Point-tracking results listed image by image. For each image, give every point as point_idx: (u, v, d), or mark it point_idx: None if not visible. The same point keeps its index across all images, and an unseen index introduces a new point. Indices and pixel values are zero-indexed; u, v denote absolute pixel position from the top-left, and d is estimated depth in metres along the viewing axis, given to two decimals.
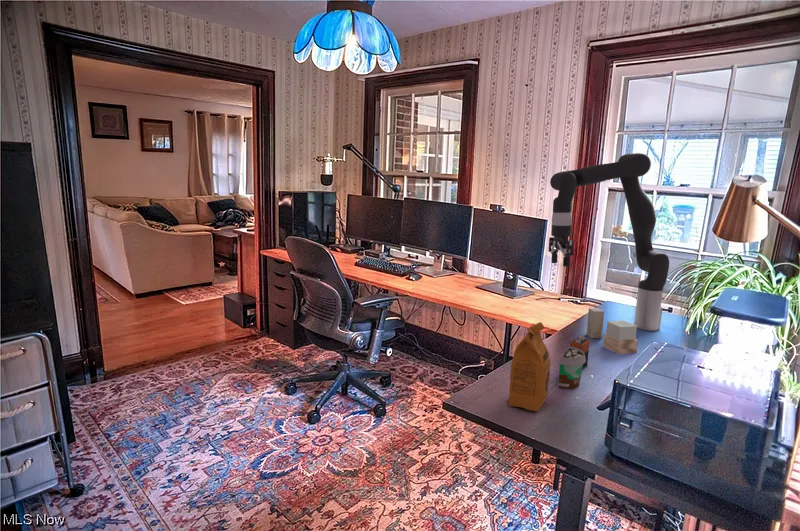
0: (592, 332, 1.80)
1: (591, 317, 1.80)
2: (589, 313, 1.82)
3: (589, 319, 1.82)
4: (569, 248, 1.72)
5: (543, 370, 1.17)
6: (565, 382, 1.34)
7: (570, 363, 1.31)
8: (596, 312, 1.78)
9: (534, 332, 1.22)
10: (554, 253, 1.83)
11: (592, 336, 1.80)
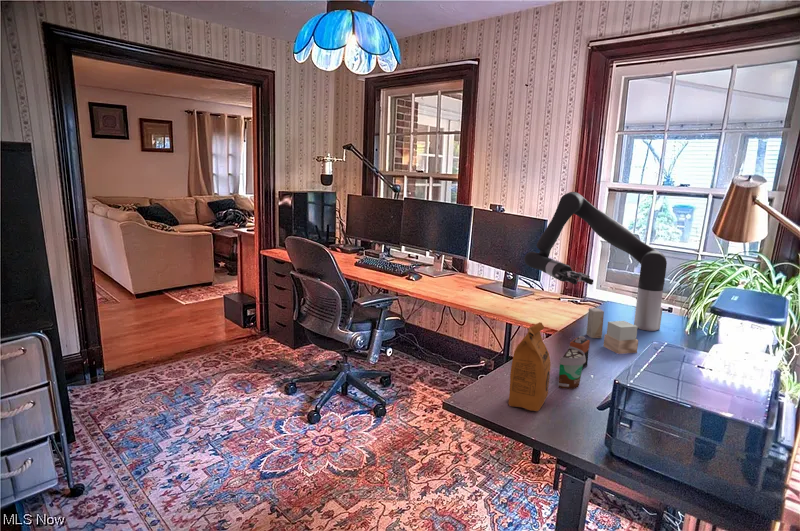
0: (592, 332, 1.80)
1: (591, 317, 1.80)
2: (589, 313, 1.82)
3: (589, 319, 1.82)
4: (559, 277, 1.92)
5: (543, 370, 1.17)
6: (565, 382, 1.34)
7: (570, 363, 1.31)
8: (596, 312, 1.79)
9: (534, 332, 1.22)
10: (584, 279, 1.93)
11: (592, 336, 1.80)
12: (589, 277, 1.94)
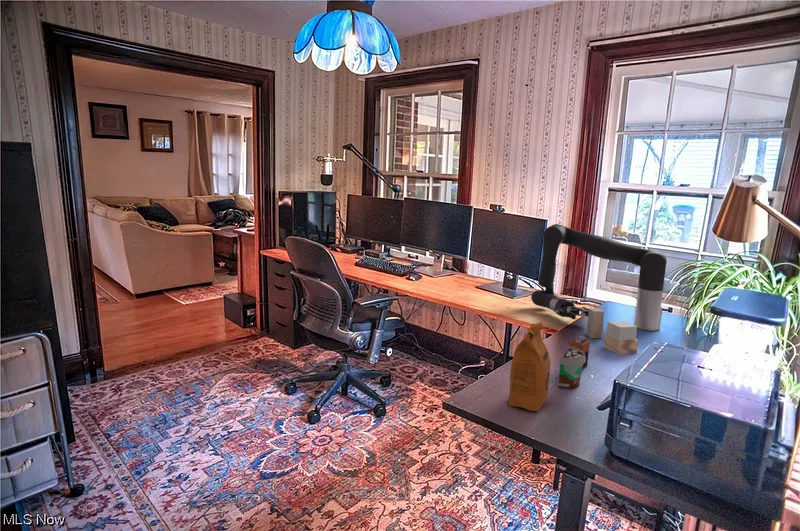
0: (592, 332, 1.80)
1: (591, 317, 1.80)
2: (589, 313, 1.82)
3: (589, 319, 1.82)
4: (559, 313, 1.94)
5: (543, 370, 1.17)
6: (565, 382, 1.34)
7: (570, 363, 1.31)
8: (596, 312, 1.78)
9: (534, 332, 1.22)
10: (586, 314, 1.93)
11: (592, 336, 1.80)
12: None
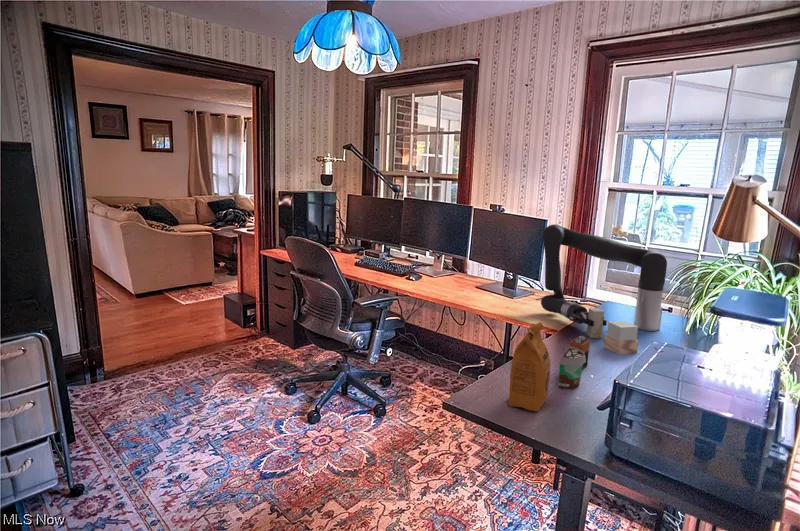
0: (592, 332, 1.80)
1: (591, 317, 1.80)
2: (589, 313, 1.82)
3: None
4: (574, 320, 1.85)
5: (543, 370, 1.17)
6: (565, 382, 1.34)
7: (570, 363, 1.31)
8: (596, 312, 1.78)
9: (534, 332, 1.22)
10: None
11: (592, 336, 1.80)
12: (603, 318, 1.84)
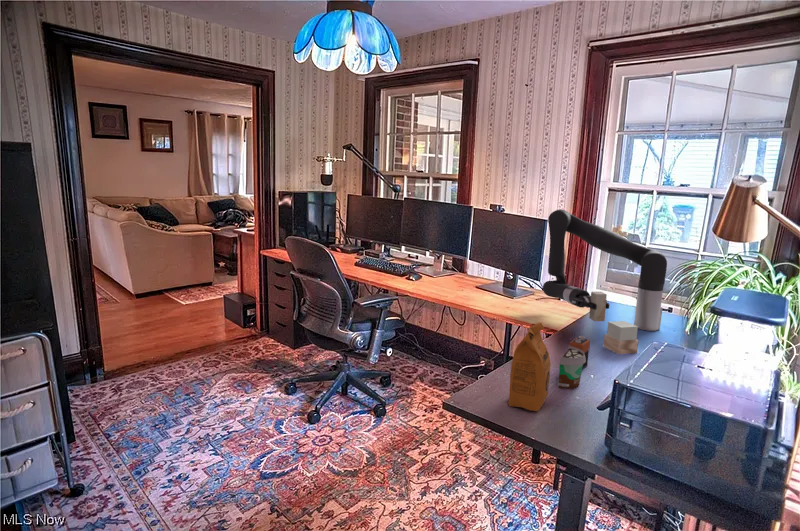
0: (595, 315, 1.78)
1: (594, 300, 1.79)
2: (592, 296, 1.81)
3: (592, 302, 1.81)
4: (577, 304, 1.83)
5: (543, 370, 1.17)
6: (565, 382, 1.34)
7: (570, 363, 1.31)
8: (599, 295, 1.77)
9: (534, 332, 1.22)
10: None
11: (595, 319, 1.79)
12: (606, 301, 1.83)
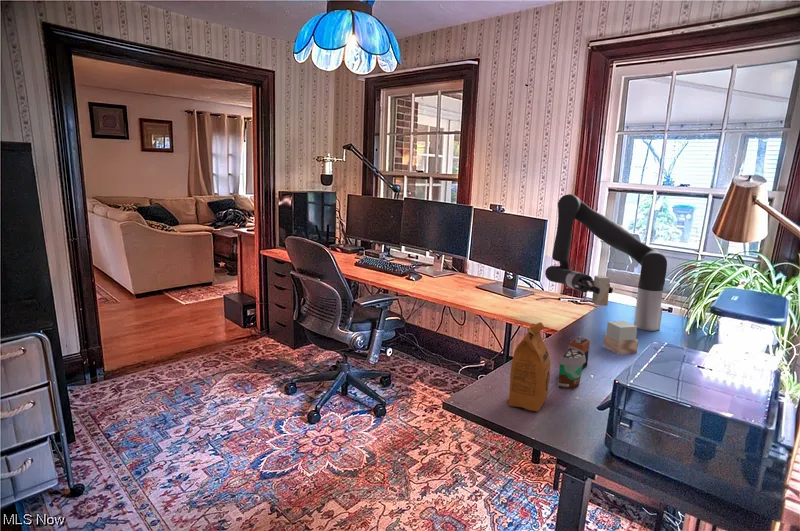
0: (598, 299, 1.76)
1: (597, 284, 1.76)
2: (595, 280, 1.78)
3: None
4: (579, 288, 1.81)
5: (543, 370, 1.17)
6: (565, 382, 1.34)
7: (570, 363, 1.31)
8: (602, 279, 1.75)
9: (534, 332, 1.22)
10: None
11: (598, 304, 1.76)
12: (609, 286, 1.81)
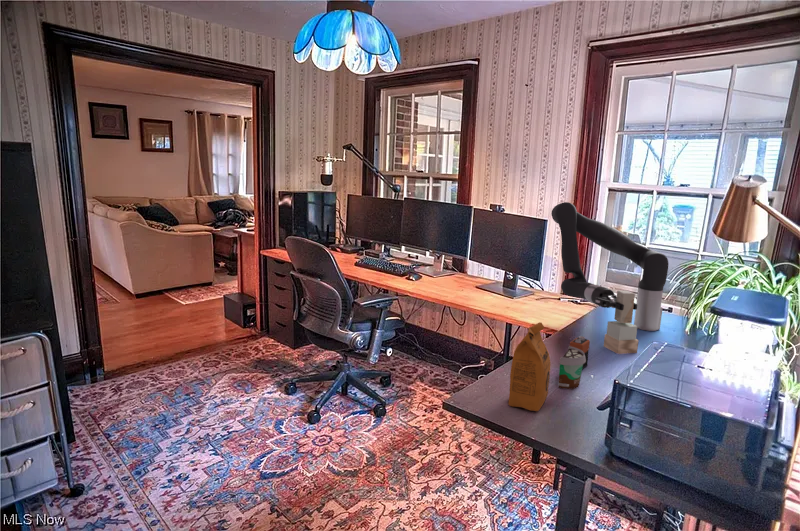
0: (621, 316, 1.64)
1: (620, 300, 1.64)
2: (618, 296, 1.66)
3: (618, 302, 1.66)
4: (601, 304, 1.68)
5: (543, 370, 1.17)
6: (565, 382, 1.34)
7: (570, 363, 1.31)
8: (626, 294, 1.62)
9: (534, 332, 1.22)
10: None
11: (621, 321, 1.64)
12: None
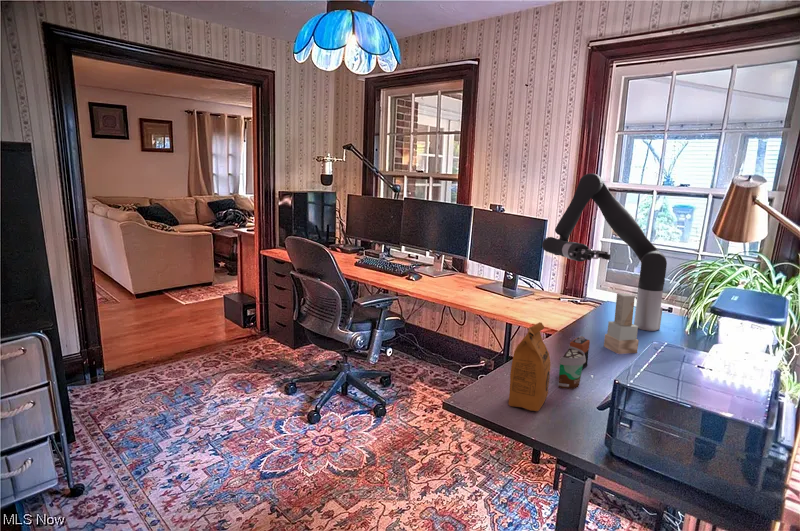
0: (622, 319, 1.64)
1: (620, 303, 1.64)
2: (618, 298, 1.66)
3: (618, 305, 1.66)
4: (572, 256, 1.84)
5: (543, 370, 1.17)
6: (565, 382, 1.34)
7: (570, 363, 1.31)
8: (626, 297, 1.62)
9: (534, 332, 1.22)
10: (602, 256, 1.83)
11: (622, 324, 1.64)
12: (607, 253, 1.84)
